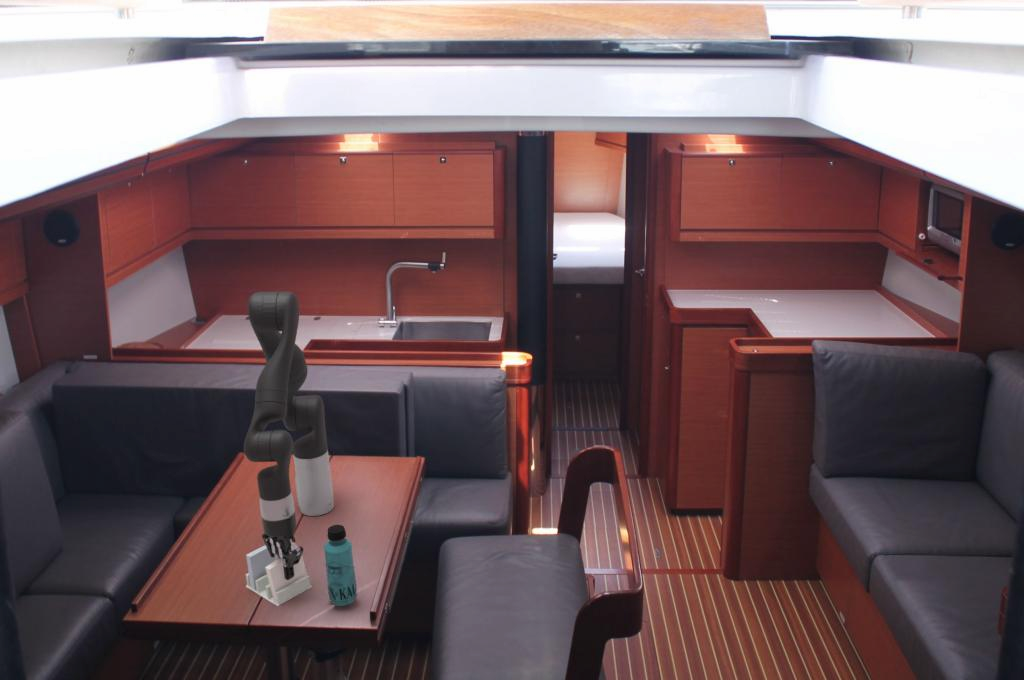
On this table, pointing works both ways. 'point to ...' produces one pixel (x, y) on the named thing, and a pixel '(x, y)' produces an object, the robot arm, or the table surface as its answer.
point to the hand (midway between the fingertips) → (287, 576)
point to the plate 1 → (258, 564)
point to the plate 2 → (278, 577)
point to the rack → (281, 595)
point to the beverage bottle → (340, 567)
